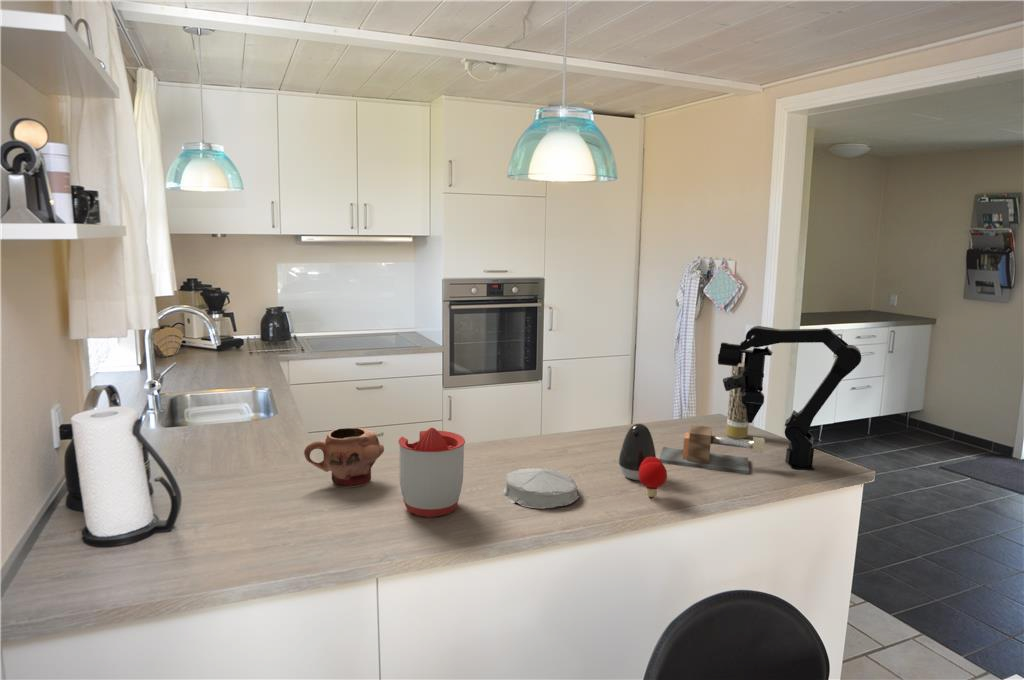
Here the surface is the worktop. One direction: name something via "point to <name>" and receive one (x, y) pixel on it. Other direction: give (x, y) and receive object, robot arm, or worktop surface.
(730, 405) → the patterned tall cylinder
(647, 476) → the light bulb
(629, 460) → the black rounded cone
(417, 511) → the citrus juicer
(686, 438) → the spacer collar
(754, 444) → the shaft
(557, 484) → the food container
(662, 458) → the bearing block
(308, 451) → the brown sculpted mug
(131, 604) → the worktop surface
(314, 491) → the worktop surface
